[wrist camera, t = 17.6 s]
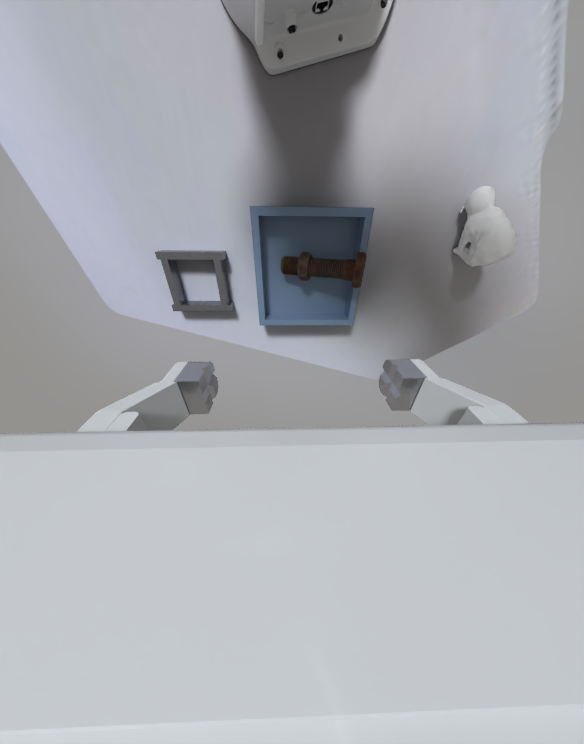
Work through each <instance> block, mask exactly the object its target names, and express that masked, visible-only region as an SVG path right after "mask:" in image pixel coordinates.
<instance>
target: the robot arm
mask: <svg viewBox="0 0 584 744" xmlns="http://www.w3.org/2000/svg"><path fill="white" fill-rule="evenodd" d="M381 1H384V2H385V8H382V7H381V5H380V2H381ZM222 2H223V4H224V6H225V8H226V10H227V11H228V13H229V15H230V16H231V18H232V19H233V21H234V22H235V24H236V25H237V26H238V27H239V29H240V30H241V31H242V32H243V33H244V34H245V35H246V36H247V37H248V38H249V40H250V41H251V42H252V44H253V45H254V47H255V49H256V52H257V54H258V56H259V59H260V61H261V63H262V65H263V67H264V69H265V70H266V71H267V72H268V73H269V74H271V75H276V74H279V73H283V72H286V71H289V70H293V69H296V68H300V67H303V66H307V65H310V64H314V63H317V62H320V61H324V60H327V59H331V58H334V57H338V56H341V55H345V54H348V53H351V52H355V51H358V50H362V49H365V48H368V47H370V46H373V45H374V44H375V42H376V41H377V39H378V37H379V35H380V33H381V31H382V29H383V27H384V24H385V22H386V19H387V17H388V14H389V11H390V8H391V5H392V2H393V0H222ZM338 39H340V40H341V42H339V40H338ZM279 52H282V53H283V58H282V59H279V58H278V56H277V54H278V53H279ZM383 369H384V371H385V372H383V373H382V374H381V375H380V379H379V388H380V391H381V393H382V394H383V395H385V396H386V397H387V398H386V401H387V403H388V405H389V406H390V408H391V410H410V412H412V413H413V414H414V415H416V416H417V417H418V418H420V419H421V420H422V421H424V422H425V423H426V424H428V425H421V426H420V425H419V426H370V427H369V426H366V427H316V428H265V429H264V428H261V429H209V430H208V429H207V430H173V429H174V428H175V427H177V426H178V425H179V424H180V423H181V422H182V421H184V420H185V419H186V418H187V417H188V416H189V414H208V413H209V411H210V409H211V407H212V404H213V401H212V399H213V398H214V397H216V394H217V392H218V381H217V377H215V376H214V375H213V372H214V370H215V369H214V366H213V363H212V362H177V363H176V364H175V365H174V366H173V367H172V369H171V370H170V371H169V372H168V374H167V375H166V376H165V377H164V379H163V380H162V381H161V382H156V383H154V384H152V385H150V386H148V387H146V388H144V389H142V390H140V391H138V392H136V393H134V394H132V395H130V396H128V397H126V398H124V399H122V400H120V401H118V402H116V403H113V404H111V405H109V406H108V407H105V408H103V409H101V410H99V411H97V412H96V413H95V414H94V415H93V416H92V417H91V418H90V419H89V420H88V421H87V422H86V423H85V424H84V425H83V426H82V427H81V428H80V429H79V430H78V431H77V432H46V433H0V744H584V422H578V423H577V422H576V423H531V424H530V423H528V422H527V421H526V420H525V419H524V418H522V417H521V416H520V415H519V414H517V413H516V412H515V411H514V410H513V409H511V408H510V407H509V406H508V405H506V404H504V403H501V402H499V401H497V400H494V399H492V398H489V397H487V396H485V395H482V394H480V393H478V392H475V391H473V390H471V389H468V388H466V387H464V386H461V385H458V384H456V383H454V382H452V381H449V380H447V379H445V378H439V376H438V375H437V374H436V373H434V372H433V371H432V370H431V369H430V368H429V367H428V366H427V365H426V364H425V363H424V362H423V361H422V360H421V359H398V360H386V361H385V362H384V365H383Z"/></svg>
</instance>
